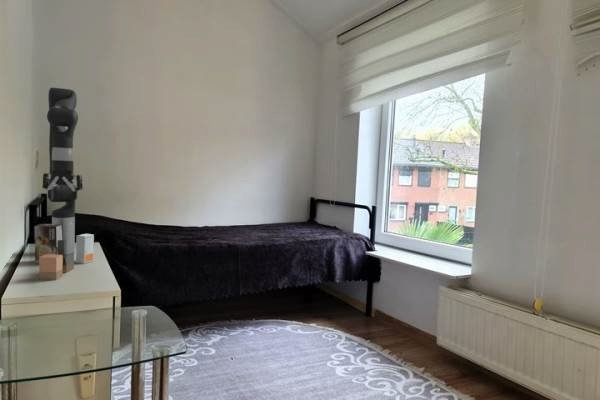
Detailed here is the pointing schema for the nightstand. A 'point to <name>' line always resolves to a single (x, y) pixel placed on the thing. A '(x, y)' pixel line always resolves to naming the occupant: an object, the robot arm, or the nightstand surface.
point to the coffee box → (47, 239)
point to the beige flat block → (62, 249)
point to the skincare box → (84, 248)
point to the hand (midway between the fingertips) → (62, 200)
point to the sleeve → (68, 263)
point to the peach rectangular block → (50, 267)
